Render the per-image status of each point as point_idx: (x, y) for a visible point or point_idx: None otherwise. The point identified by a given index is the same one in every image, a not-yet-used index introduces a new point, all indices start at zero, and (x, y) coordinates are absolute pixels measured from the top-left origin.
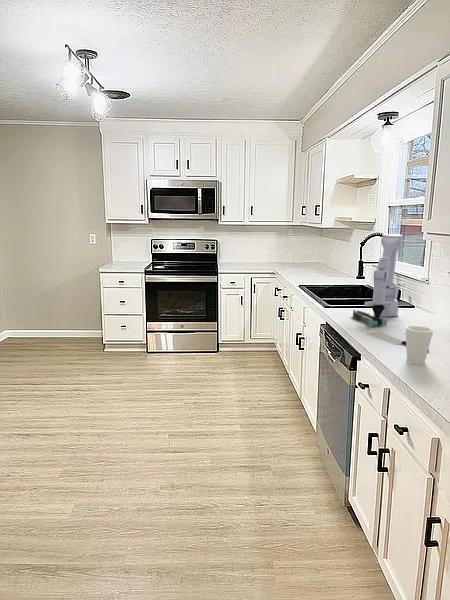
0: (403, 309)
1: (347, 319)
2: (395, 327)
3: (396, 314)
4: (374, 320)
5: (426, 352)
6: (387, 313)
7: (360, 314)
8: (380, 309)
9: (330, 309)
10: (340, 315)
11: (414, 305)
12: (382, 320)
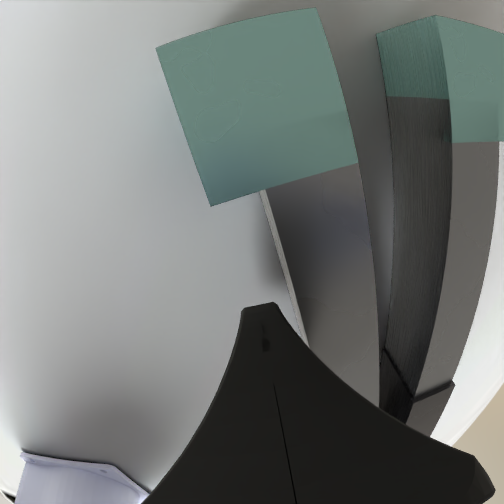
0: None
1: (469, 366)
2: (60, 28)
3: (30, 464)
4: (470, 69)
5: None
6: (81, 481)
7: (433, 410)
8: (294, 493)
9: None
10: None
11: (9, 500)
12: (312, 13)
